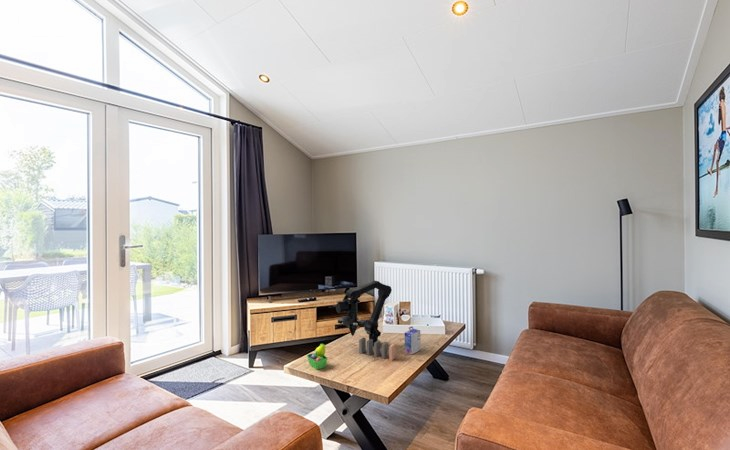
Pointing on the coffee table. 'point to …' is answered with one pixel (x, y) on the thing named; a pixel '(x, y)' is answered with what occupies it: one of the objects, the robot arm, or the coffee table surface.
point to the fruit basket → (318, 357)
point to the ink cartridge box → (412, 341)
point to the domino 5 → (392, 351)
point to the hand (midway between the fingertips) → (352, 335)
